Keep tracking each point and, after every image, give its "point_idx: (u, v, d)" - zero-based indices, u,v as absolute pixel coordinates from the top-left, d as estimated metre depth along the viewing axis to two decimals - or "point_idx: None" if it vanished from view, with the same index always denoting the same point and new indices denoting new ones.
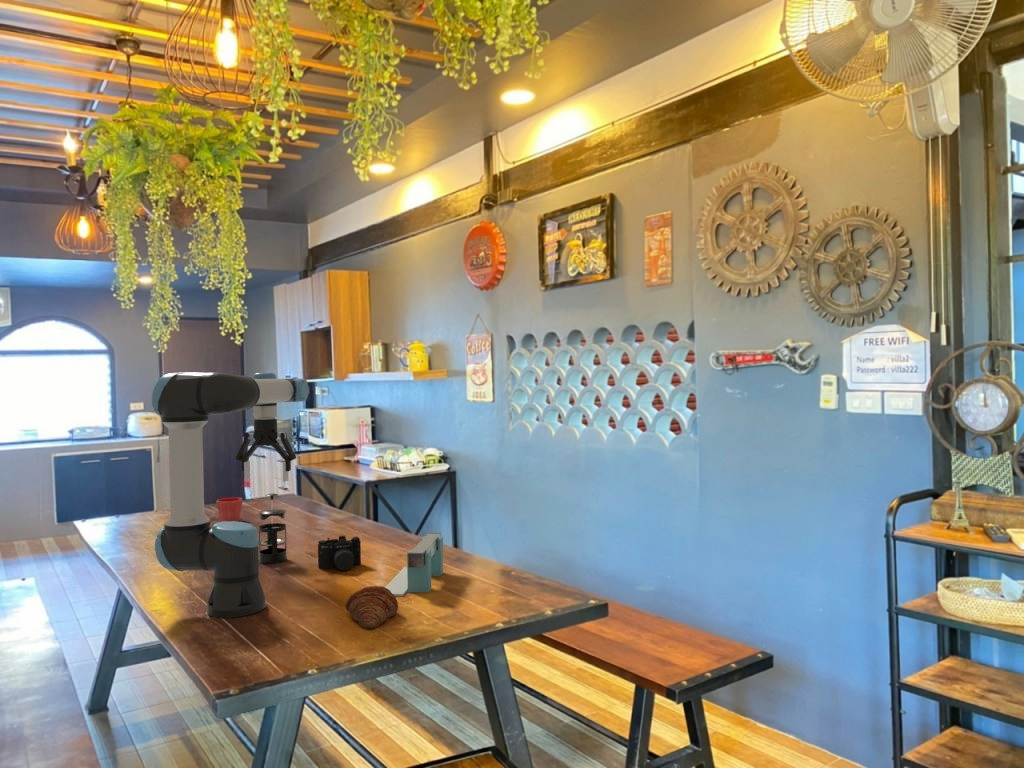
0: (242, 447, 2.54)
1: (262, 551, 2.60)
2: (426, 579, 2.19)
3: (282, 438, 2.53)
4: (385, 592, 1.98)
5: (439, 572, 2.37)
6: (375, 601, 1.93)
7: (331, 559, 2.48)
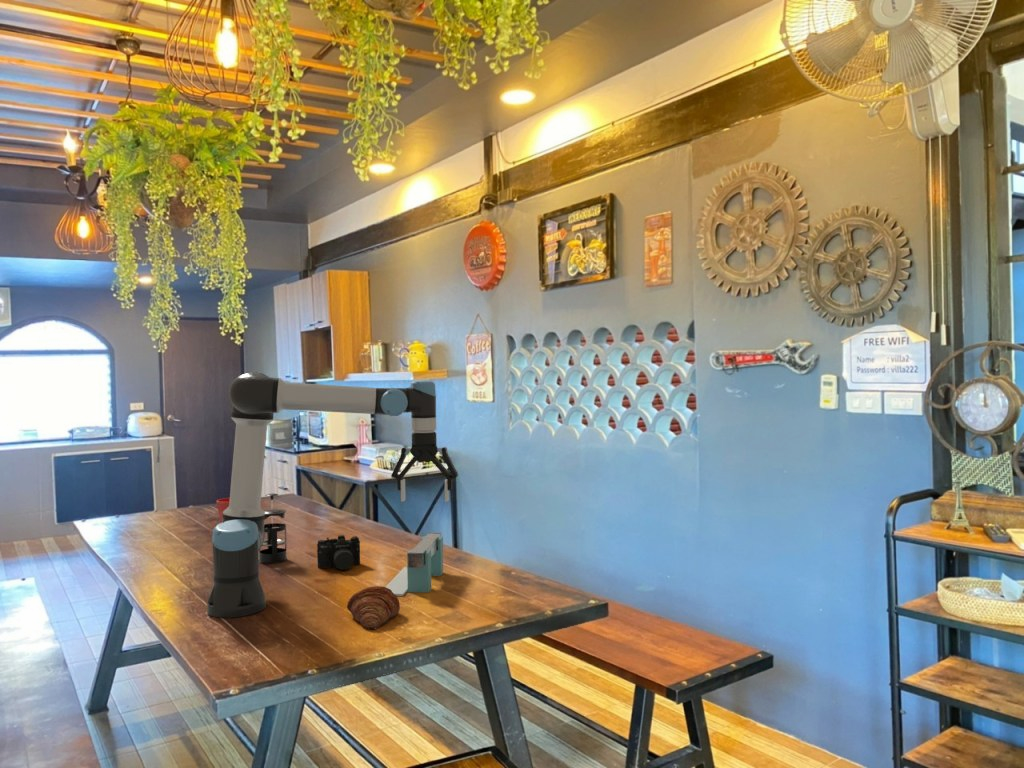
0: (398, 463, 2.29)
1: (262, 551, 2.60)
2: (426, 579, 2.19)
3: (444, 453, 2.28)
4: (387, 592, 1.98)
5: (439, 572, 2.37)
6: (377, 601, 1.93)
7: (330, 559, 2.48)
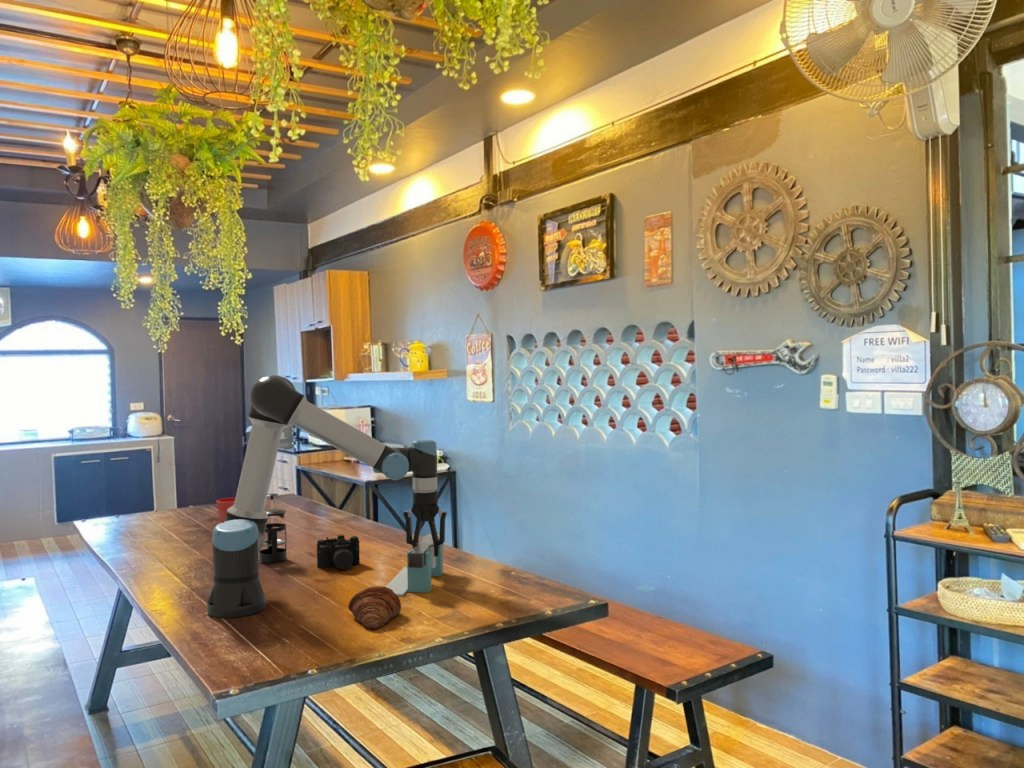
0: (407, 528, 2.29)
1: (262, 551, 2.60)
2: (426, 579, 2.19)
3: (442, 518, 2.28)
4: (388, 592, 1.97)
5: (439, 572, 2.37)
6: (378, 601, 1.93)
7: (330, 558, 2.49)
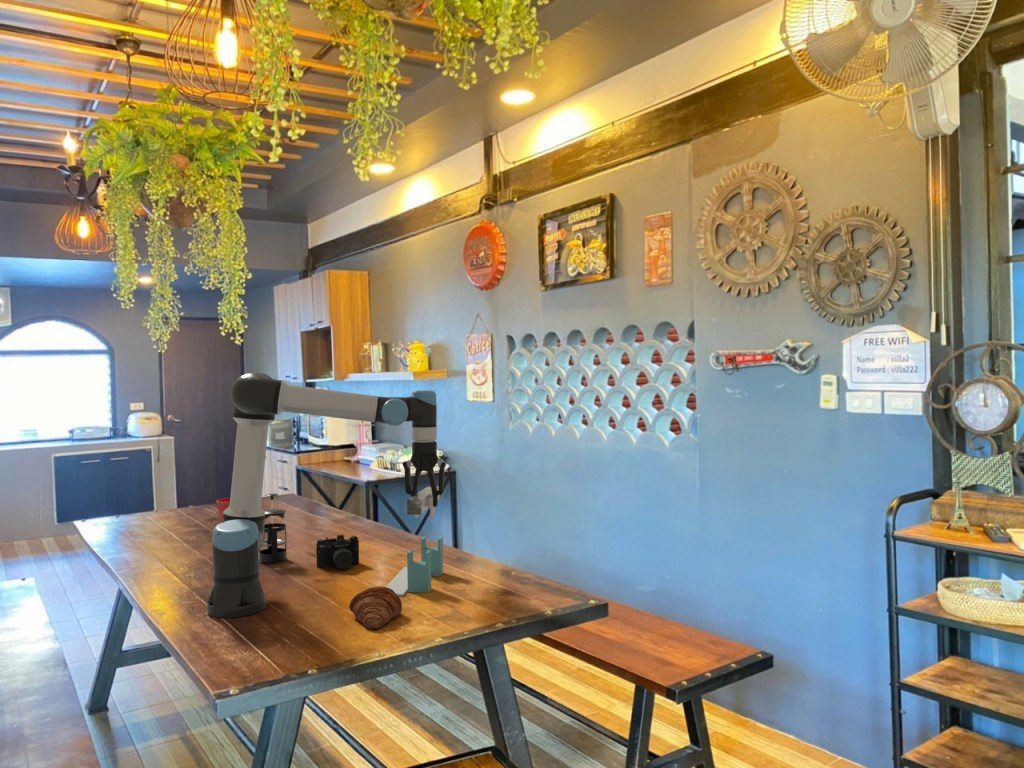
0: (406, 478, 2.29)
1: (262, 551, 2.60)
2: (426, 579, 2.19)
3: (441, 468, 2.28)
4: (389, 592, 1.97)
5: (439, 572, 2.37)
6: (379, 601, 1.92)
7: (329, 558, 2.49)
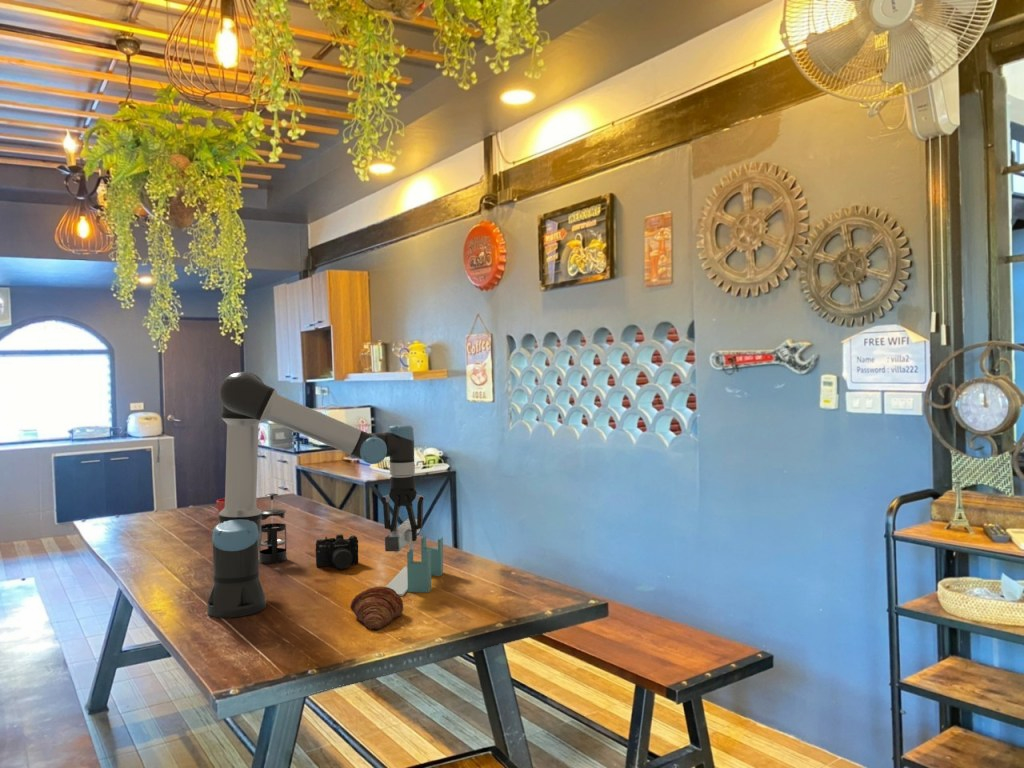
0: (385, 513, 2.30)
1: (262, 551, 2.60)
2: (426, 579, 2.19)
3: (419, 502, 2.29)
4: (390, 592, 1.97)
5: (439, 572, 2.37)
6: (380, 601, 1.92)
7: (329, 558, 2.49)
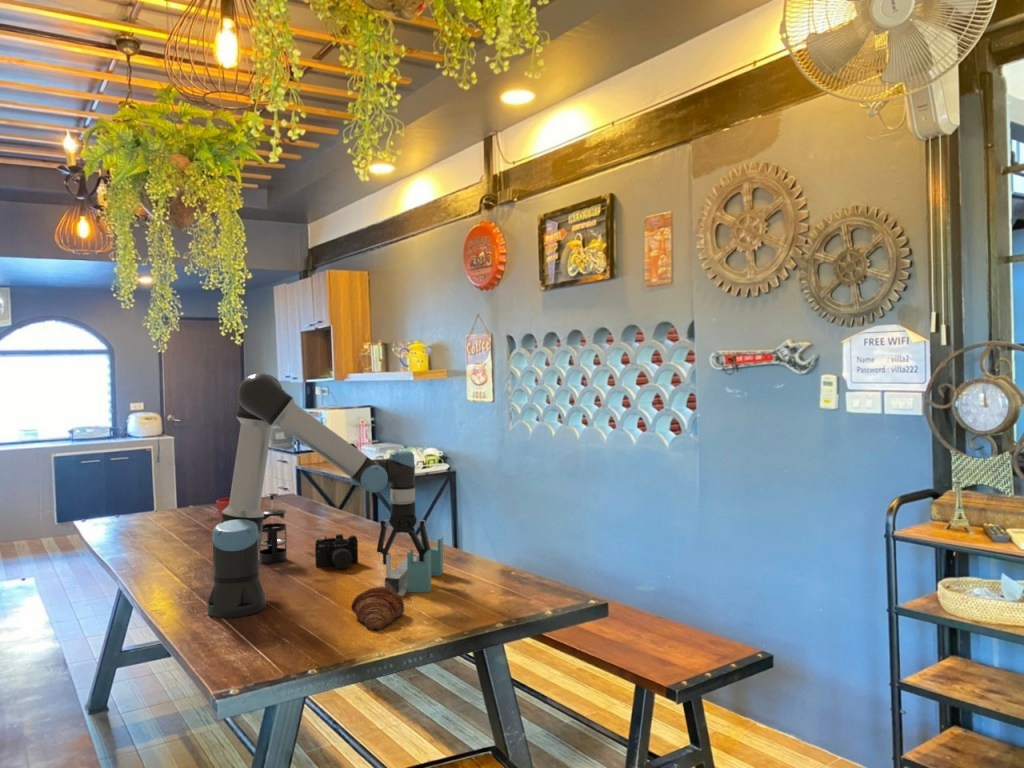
0: (381, 537, 2.30)
1: (262, 551, 2.60)
2: (426, 579, 2.19)
3: (421, 527, 2.29)
4: (391, 593, 1.97)
5: (439, 572, 2.37)
6: (381, 602, 1.92)
7: (328, 558, 2.50)
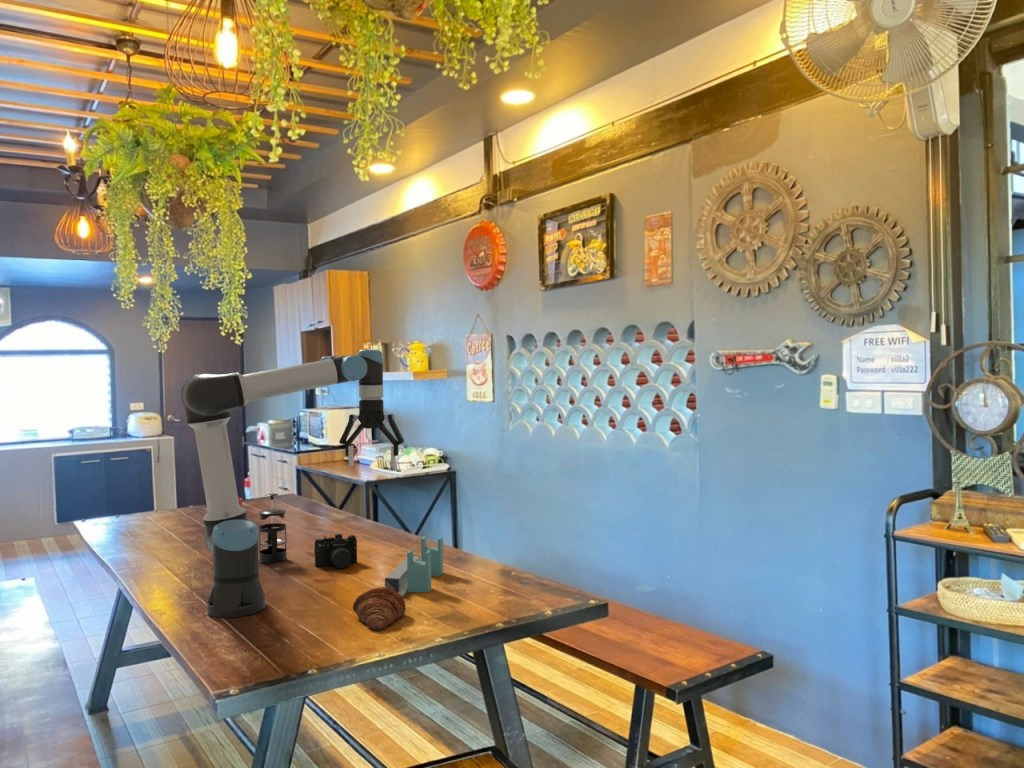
0: (346, 430, 2.36)
1: (262, 551, 2.60)
2: (426, 579, 2.19)
3: (390, 420, 2.34)
4: (392, 593, 1.97)
5: (439, 572, 2.37)
6: (382, 602, 1.92)
7: (327, 557, 2.50)
